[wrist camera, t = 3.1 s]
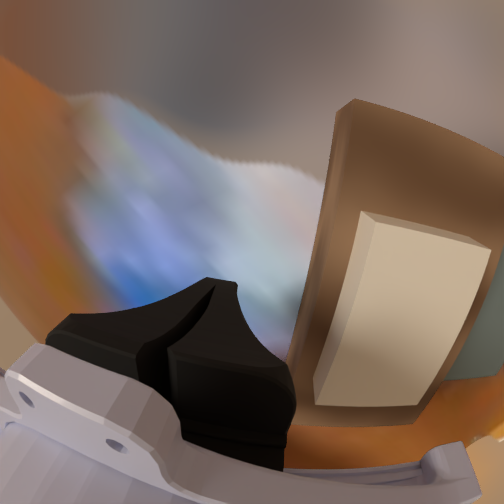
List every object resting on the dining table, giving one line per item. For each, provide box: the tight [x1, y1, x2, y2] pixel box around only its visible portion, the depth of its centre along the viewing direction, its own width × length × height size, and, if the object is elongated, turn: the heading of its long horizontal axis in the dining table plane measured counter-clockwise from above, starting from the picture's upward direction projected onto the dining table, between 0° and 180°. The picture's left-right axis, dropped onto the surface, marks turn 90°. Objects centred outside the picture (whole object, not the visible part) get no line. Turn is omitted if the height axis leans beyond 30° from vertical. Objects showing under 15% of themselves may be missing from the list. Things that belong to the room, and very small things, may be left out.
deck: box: [286, 99, 504, 427], centre depth 14 cm, size 18×10×4 cm, turn 172°
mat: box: [443, 245, 504, 381], centre depth 15 cm, size 16×12×1 cm
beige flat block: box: [313, 211, 491, 407], centre depth 11 cm, size 9×6×2 cm, turn 172°
